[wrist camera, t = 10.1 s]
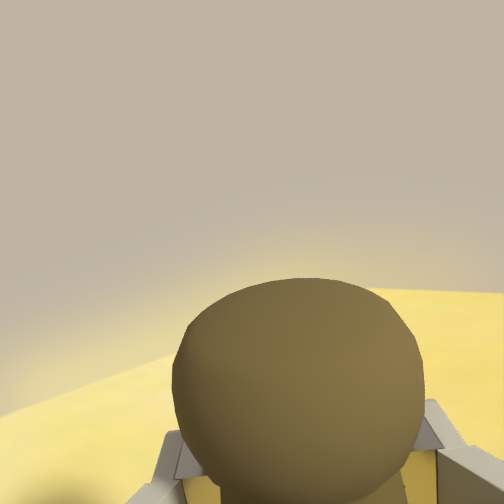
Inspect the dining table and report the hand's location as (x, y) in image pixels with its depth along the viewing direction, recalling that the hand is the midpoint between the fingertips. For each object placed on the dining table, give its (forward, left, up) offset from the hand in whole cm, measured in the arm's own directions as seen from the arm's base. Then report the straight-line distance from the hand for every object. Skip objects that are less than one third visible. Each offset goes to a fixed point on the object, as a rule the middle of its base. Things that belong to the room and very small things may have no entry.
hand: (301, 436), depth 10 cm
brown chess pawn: (+1, -1, -7) cm, 7 cm away
